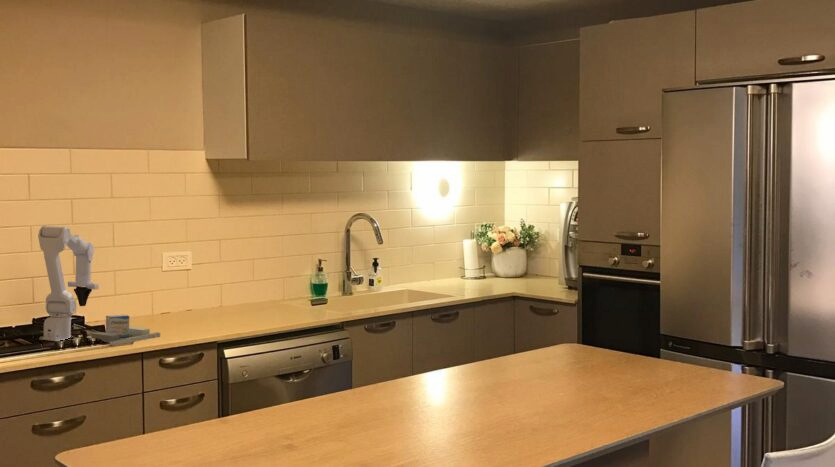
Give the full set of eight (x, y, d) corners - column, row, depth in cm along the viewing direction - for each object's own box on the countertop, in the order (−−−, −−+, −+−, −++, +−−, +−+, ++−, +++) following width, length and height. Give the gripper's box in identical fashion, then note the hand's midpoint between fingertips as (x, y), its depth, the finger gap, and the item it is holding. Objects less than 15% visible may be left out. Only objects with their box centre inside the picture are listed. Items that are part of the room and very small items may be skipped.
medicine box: (109, 339, 353) (109, 316, 353) (105, 337, 357) (105, 315, 356) (129, 337, 358) (129, 315, 357) (125, 335, 361) (125, 314, 361)
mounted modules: (111, 343, 343) (111, 335, 343) (91, 341, 347) (91, 333, 347) (149, 336, 362) (149, 328, 362) (129, 333, 366) (130, 326, 366)
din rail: (113, 345, 339) (113, 341, 339) (109, 345, 340) (109, 341, 340) (160, 336, 363) (160, 332, 363) (157, 335, 364) (157, 332, 364)
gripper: (104, 272, 366) (103, 306, 367) (77, 270, 372) (76, 303, 373) (91, 274, 360) (90, 308, 361) (63, 271, 366) (63, 305, 367)
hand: (82, 305), depth 366 cm, fingers closed
